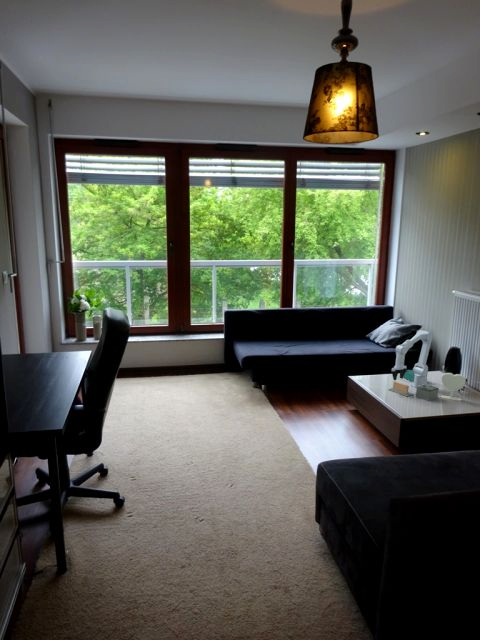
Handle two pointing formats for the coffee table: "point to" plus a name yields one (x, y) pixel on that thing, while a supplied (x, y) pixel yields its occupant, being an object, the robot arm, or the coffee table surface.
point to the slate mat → (400, 392)
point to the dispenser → (427, 392)
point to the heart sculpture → (453, 383)
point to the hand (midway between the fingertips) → (398, 379)
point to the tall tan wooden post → (400, 387)
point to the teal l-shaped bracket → (410, 375)
